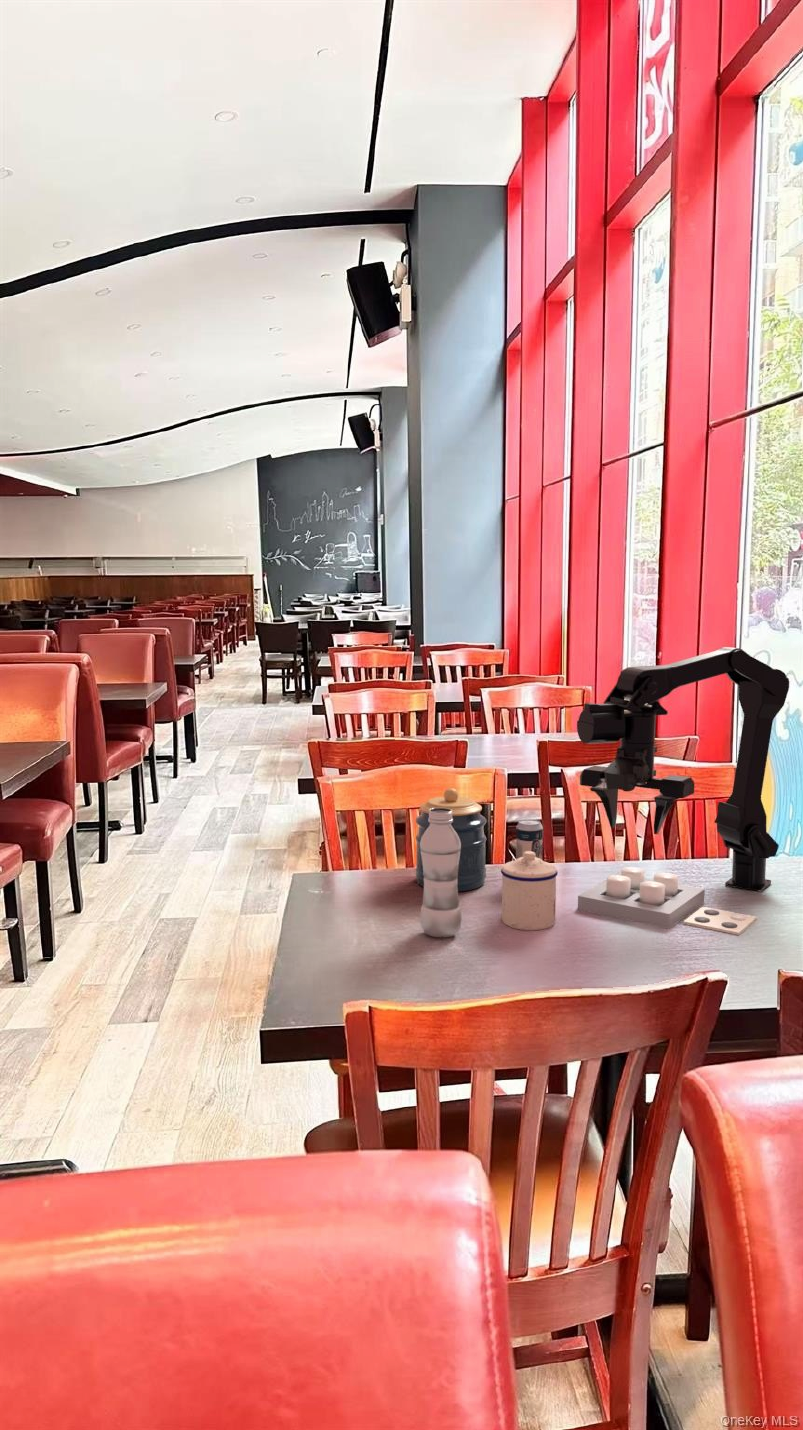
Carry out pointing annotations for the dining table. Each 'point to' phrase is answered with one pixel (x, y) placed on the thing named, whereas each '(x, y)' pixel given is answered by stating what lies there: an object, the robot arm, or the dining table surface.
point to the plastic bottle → (440, 875)
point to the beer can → (529, 838)
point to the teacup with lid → (528, 893)
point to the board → (642, 905)
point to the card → (720, 920)
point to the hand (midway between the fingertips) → (634, 830)
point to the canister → (469, 832)
